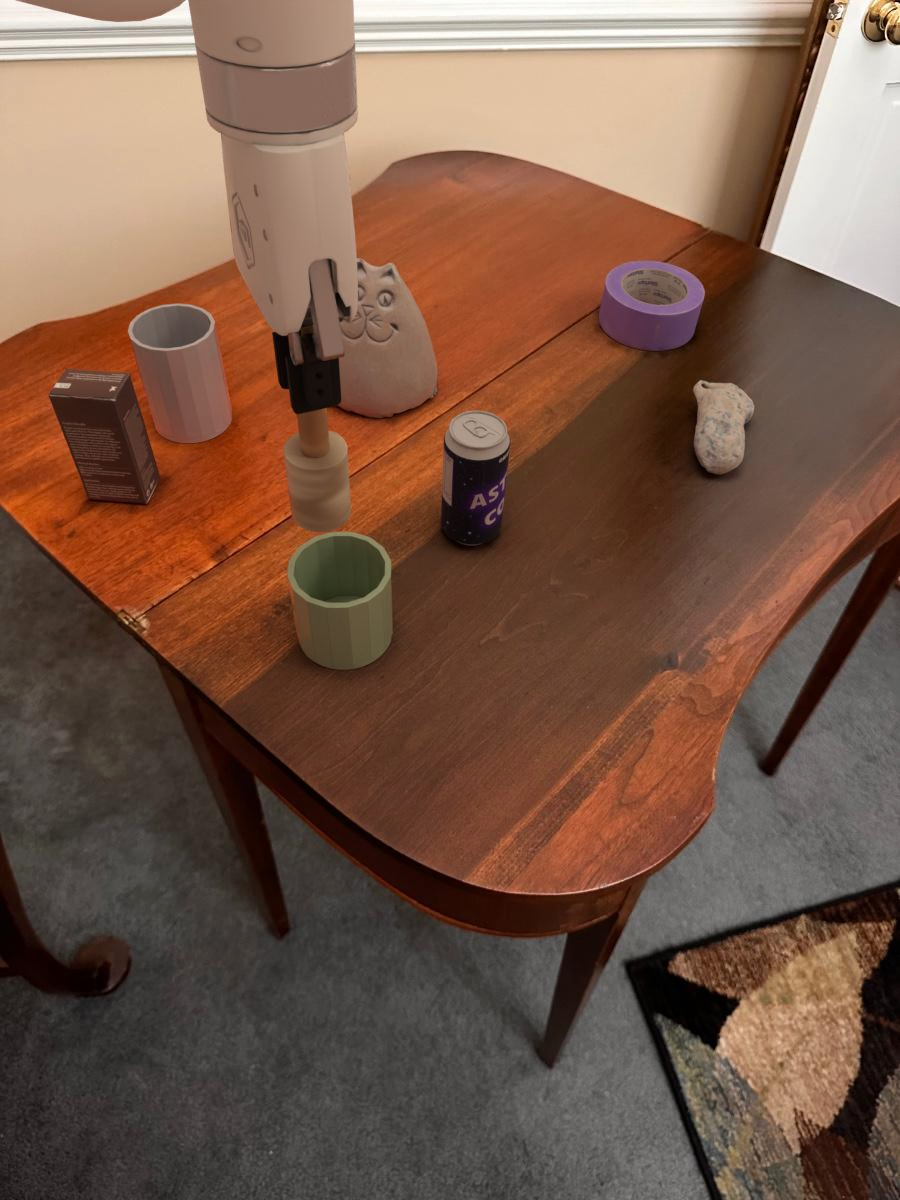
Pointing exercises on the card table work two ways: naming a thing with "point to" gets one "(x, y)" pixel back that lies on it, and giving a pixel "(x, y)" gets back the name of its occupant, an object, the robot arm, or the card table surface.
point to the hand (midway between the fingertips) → (309, 393)
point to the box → (106, 435)
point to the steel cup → (182, 372)
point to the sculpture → (385, 347)
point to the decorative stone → (721, 425)
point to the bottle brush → (317, 472)
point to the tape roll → (650, 305)
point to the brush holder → (342, 599)
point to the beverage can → (474, 477)
